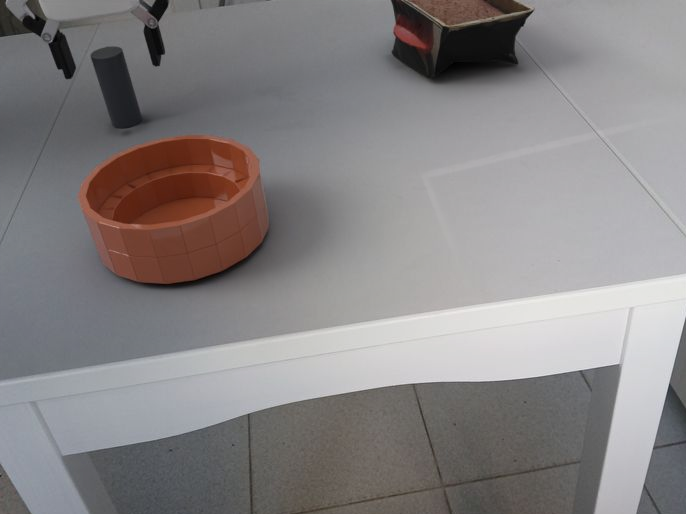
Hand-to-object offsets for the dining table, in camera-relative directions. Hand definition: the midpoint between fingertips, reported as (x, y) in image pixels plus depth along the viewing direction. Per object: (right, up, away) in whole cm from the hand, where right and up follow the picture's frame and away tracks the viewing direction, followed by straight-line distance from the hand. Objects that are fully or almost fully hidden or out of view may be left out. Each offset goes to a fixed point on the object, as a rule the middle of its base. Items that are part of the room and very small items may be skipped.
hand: (114, 68), depth 81 cm
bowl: (+11, -21, -15) cm, 28 cm away
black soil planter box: (+39, +5, +10) cm, 41 cm away
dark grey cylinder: (0, -5, +4) cm, 6 cm away
